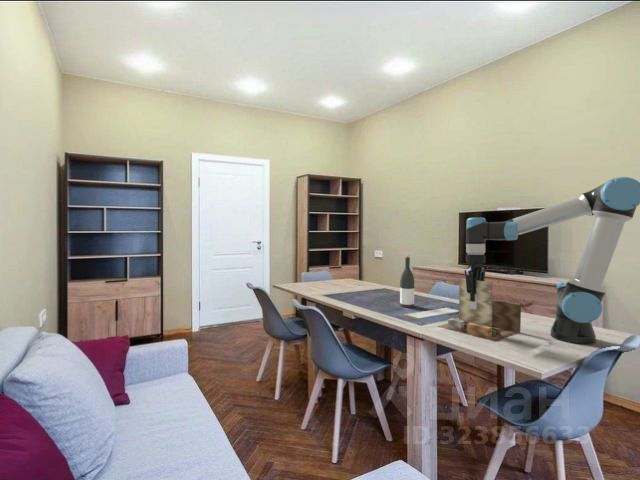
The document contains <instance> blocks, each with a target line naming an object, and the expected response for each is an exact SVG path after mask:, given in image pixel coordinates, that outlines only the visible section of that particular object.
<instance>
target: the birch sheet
mask: <svg viewBox="0 0 640 480" xmlns="http://www.w3.org/2000/svg"><path fill="white" fill-rule="evenodd" d="M458 281H459V283H458V285H459V286H458V288H459V289H458V292H459V293H458V294H459V297H458V301H459V302H458V304H459V305H458V311H459V313H458V314H459V315H458V319H460V320H465V321H469V322H474V323H478V324H483V325H487V326H492V299H493V282H492V281H485V280H484V281H477V284H476V294H477V310H476V309H470V293H468V292H467V287H466V278H459V280H458Z"/></svg>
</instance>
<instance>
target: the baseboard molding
mask: <svg viewBox="0 0 640 480" xmlns="http://www.w3.org/2000/svg"><path fill="white" fill-rule="evenodd" d="M453 314H459V309H456V308H455V307H454V309H453V308H452V305H450V306H449V308H448V307H442V308H437V309H429V310H423V311H417V312H411V313H406V314H403V316H405V317H407V318H412V319H415V320H422V319H427V318H431V317H435V316H441V315H447V316H448V315H453Z"/></svg>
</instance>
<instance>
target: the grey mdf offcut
mask: <svg viewBox="0 0 640 480" xmlns="http://www.w3.org/2000/svg"><path fill="white" fill-rule="evenodd" d="M458 319H459V318H453V317H451V318H448V319H447V324H448V328H449V329H453V330H457V331H464V321H462V320H458Z"/></svg>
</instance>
